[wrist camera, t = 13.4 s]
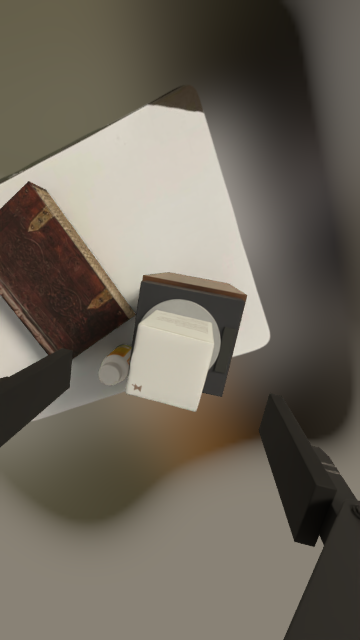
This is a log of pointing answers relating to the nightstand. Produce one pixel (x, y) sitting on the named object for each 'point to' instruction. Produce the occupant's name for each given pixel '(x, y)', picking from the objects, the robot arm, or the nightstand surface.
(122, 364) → the supplement bottle
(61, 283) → the hardback book
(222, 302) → the scale
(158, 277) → the riser
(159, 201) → the nightstand surface
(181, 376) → the product box
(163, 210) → the nightstand surface
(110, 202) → the nightstand surface
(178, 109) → the nightstand surface
